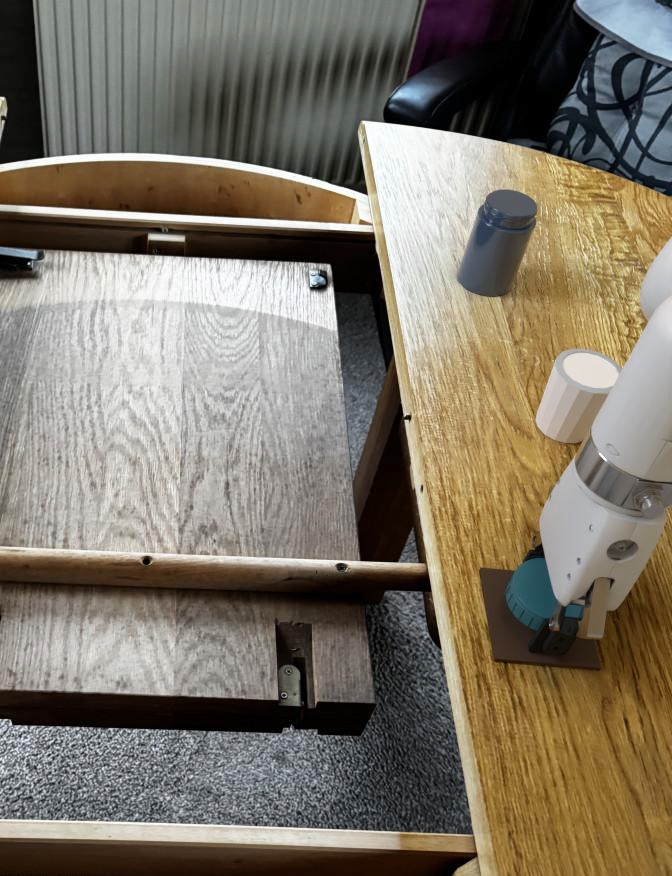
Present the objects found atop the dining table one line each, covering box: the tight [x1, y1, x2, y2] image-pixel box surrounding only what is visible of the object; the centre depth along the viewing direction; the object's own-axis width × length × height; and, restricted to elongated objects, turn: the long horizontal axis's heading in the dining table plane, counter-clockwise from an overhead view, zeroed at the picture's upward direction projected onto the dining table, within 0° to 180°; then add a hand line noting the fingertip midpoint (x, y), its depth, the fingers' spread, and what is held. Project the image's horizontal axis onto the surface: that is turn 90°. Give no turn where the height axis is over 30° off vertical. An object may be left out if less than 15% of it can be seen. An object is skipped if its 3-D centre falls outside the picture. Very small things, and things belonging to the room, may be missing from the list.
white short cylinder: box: [534, 348, 623, 444], centre depth 93 cm, size 7×7×7 cm
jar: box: [456, 188, 538, 297], centre depth 107 cm, size 7×7×10 cm
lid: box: [505, 558, 582, 631], centre depth 78 cm, size 7×7×2 cm
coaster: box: [478, 567, 602, 671], centre depth 81 cm, size 9×10×1 cm
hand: (538, 615), depth 80 cm, fingers closed on lid, 6 cm apart
